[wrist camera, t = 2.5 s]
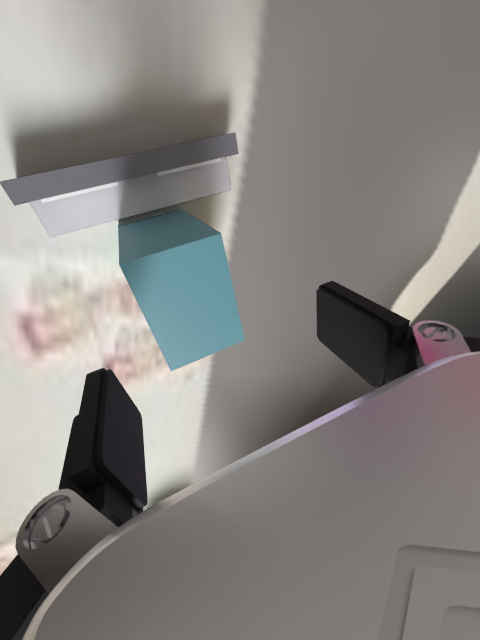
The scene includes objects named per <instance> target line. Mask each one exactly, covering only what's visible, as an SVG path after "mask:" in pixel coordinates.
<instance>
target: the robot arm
mask: <svg viewBox="0 0 480 640" xmlns="http://www.w3.org/2000/svg"><path fill="white" fill-rule="evenodd" d="M409 322H410V321H409V320H407V319H406V318H404V317H402V316H400V315H398V314H396V313H394V312H392V311H390V310H388V309H386V308H384V307H382V306H380V305H378V304H376V303H374V302H373V301H371V300H369V299H367V298H364V297H363V296H361V295H359V294H357V293H355V292H353V291H351V290H349V289H347V288H345V287H344V286H342V285H340V284H338V283H336V282H333V281H330V282H327V283H324V284H322V285H320V286H319V289H318V290H317V336H318V339H319V340H320V341H321V342H322V343H323V344H324V345H325V346H326V347H327V348H329V349H330V350H331V351H332V352H333V353H334V354H336V355H337V356H338V357H339V358H340V359H341V360H343V361H344V362H345V363H346V364H347V365H348V366H350V367H351V368H352V369H353V370H354V371H355V372H357V373H358V374H359V375H360V376H361V377H362V378H363V379H365V380H366V381H367V382H368V383H369V384H370V385H372V386H374V387H378V388H377V389H376V390H374V391H372V392H370V393H368V394H366V395H364V396H362V397H360V398H358V399H356V400H354V401H352V402H350V403H348V404H346V405H344V406H342V407H340V408H338V409H337V410H334V411H332V412H330V413H328V414H327V415H325V416H323V417H321V418H319V419H317V420H315V421H313V422H311V423H309V424H307V425H305V426H303V427H301V428H299V429H297V430H295V431H294V432H291V433H290V434H288V435H286V436H284V437H282V438H280V439H278V440H276V441H274V442H272V443H271V444H268V445H266V446H264V447H262V448H261V449H259V450H257V451H255V452H253V453H251V454H249V455H247V456H245V457H243V458H241V459H239V460H238V461H236V462H234V463H232V464H230V465H228V466H226V467H224V468H222V469H220V470H218V471H216V472H214V473H213V474H211V475H209V476H207V477H205V478H203V479H201V480H199V481H197V482H196V483H194V484H192V485H190V486H188V487H186V488H185V489H183V490H181V491H179V492H177V493H175V494H173V495H172V496H170V497H168V498H166V499H164V500H162V501H161V502H159V503H157V504H155V505H153V506H152V507H150V508H148V509H147V510H145V511H143V507H144V506H146V505H147V486H146V472H145V457H144V442H143V427H142V417H141V414H140V412H139V410H138V409H137V407H136V406H135V404H134V403H133V401H132V400H131V398H130V397H129V395H128V394H127V392H126V391H125V389H124V388H123V386H122V385H121V383H120V382H119V380H118V379H117V377H116V376H115V374H114V373H113V371H112V370H110V369H109V370H107V371H106V369H104V368H102V369H99V370H96V371H94V372H91V373H89V374H87V376H86V380H85V385H84V390H83V396H82V401H81V406H80V411H79V415H77V416H76V417H75V418H74V420H73V423H72V428H71V433H70V438H69V442H68V447H67V452H66V456H65V461H64V466H63V471H62V475H61V480H60V485H59V490H58V491H55V492H52V493H51V494H49V495H48V496H46V497H45V498H43V499H42V500H41V501H40V502H39V503H38V504H37V505H36V506H35V507H34V508H33V509H32V510H31V512H30V513H29V514H28V515H27V516H26V518H25V520H24V522H23V523H22V525H21V527H20V529H19V532H18V535H17V537H16V550H17V553H18V555H17V556H16V557H15V558H14V560H13V561H12V562H11V563H10V565H9V566H8V567H7V568H6V569H5V571H4V572H3V573H2V574H1V576H0V640H480V338H471V337H462V335H461V333H460V332H459V331H458V330H457V329H456V328H455V327H453V326H451V325H449V324H446V323H443V322H439V321H422V322H418V323H417V324H415V325H414V327H413V328H412V327H410V326H409Z"/></svg>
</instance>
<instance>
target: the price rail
mask: <svg viewBox="0 0 480 640" xmlns="http://www.w3.org/2000/svg"><path fill="white" fill-rule="evenodd" d="M235 154H238V148H237V141H236V135H235V133H231V134H226V135H221V136H216V137H211V138H207V139H202V140H197V141H192V142H187V143H183V144H178V145H173V146H168V147H163V148H159V149H154V150H149V151H144V152H140V153H135V154H130V155H125V156H120V157H116V158H111V159H106V160H101V161H96V162H92V163H87V164H82V165H77V166H72V167H68V168H63V169H58V170H53V171H49V172H44V173H39V174H34V175H29V176H25V177H20V178H15V179H10V180H5V181H1V182H0V184H1V185H2V187H3V188H4V190H5V192H6V193H7V195H8V196H9V198H10V199H11V201H12V202H13V204H14V206H15V205H19V204H23V203H28V202H29V204H30V205H31V207H32V209H33V210H34V212H35V213H36V215H37V217H38V218H39V220H40V222H41V223H42V225H43V227H44V228H45V230H46V231H47V233H48V235H49V236H50V238H51V237H55V236H59V235H62V234H66V233H70V232H74V231H77V230H81V229H85V228H89V227H92V226H96V225H100V224H104V223H107V222H111V221H115V220H119V219H122V218H126V217H130V216H134V215H138V214H141V213H145V212H149V211H153V210H156V209H160V208H164V207H168V206H171V205H175V204H179V203H183V202H186V201H190V200H194V199H198V198H202V197H205V196H209V195H213V194H217V193H220V192H224V191H228V190H231V186H230V180H229V175H228V169H227V164H226V158H225V157H227V156H231V155H235Z"/></svg>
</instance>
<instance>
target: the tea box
mask: <svg viewBox="0 0 480 640" xmlns="http://www.w3.org/2000/svg"><path fill="white" fill-rule="evenodd" d="M118 234H119V265H120V267H121V269H122V271H123V273H124V275H125V277H126V279H127V281H128V283H129V286H130V288H131V290H132V292H133V294H134V296H135V298H136V300H137V302H138V304H139V306H140V308H141V310H142V312H143V314H144V316H145V319H146V321H147V323H148V325H149V327H150V329H151V331H152V333H153V335H154V337H155V339H156V341H157V343H158V345H159V347H160V349H161V352H162V354H163V356H164V358H165V360H166V362H167V364H168V366H169V368H170V370H171V371H173V370H175V369H178V368H180V367H182V366H185V365H187V364H189V363H192V362H194V361H196V360H199V359H201V358H204V357H206V356H208V355H211V354H213V353H215V352H218V351H220V350H222V349H225V348H227V347H229V346H232V345H234V344H237V343H239V342H241V341H244V340H245V339H244V335H243V330H242V326H241V322H240V317H239V312H238V308H237V303H236V299H235V294H234V290H233V285H232V281H231V276H230V272H229V267H228V262H227V258H226V253H225V249H224V244H223V240H222V235H221V233H220V232H218V231H216V230H215V229H213V228H211V227H209V226H208V225H206V224H204V223H203V222H201V221H199V220H198V219H196V218H194V217H192V216H191V215H189V214H187V213H186V212H184V211H182V210H177V211H173V212H169V213H166V214H162V215H158V216H155V217H151V218H147V219H144V220H140V221H136V222H133V223H129V224H125V225H122V226H118Z"/></svg>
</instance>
